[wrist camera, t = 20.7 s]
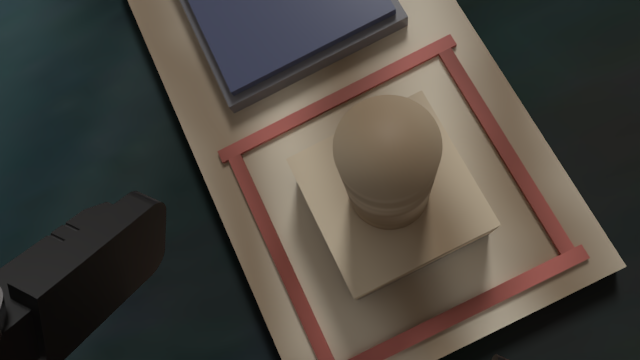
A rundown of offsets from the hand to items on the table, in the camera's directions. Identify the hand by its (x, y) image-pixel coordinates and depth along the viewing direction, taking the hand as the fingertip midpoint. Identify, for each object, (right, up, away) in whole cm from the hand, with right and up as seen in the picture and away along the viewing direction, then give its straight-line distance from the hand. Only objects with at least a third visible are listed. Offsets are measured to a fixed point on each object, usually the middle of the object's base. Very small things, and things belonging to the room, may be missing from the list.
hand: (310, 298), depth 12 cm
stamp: (+3, +2, +11) cm, 11 cm away
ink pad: (-2, +12, +14) cm, 18 cm away
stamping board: (+1, +6, +13) cm, 15 cm away
